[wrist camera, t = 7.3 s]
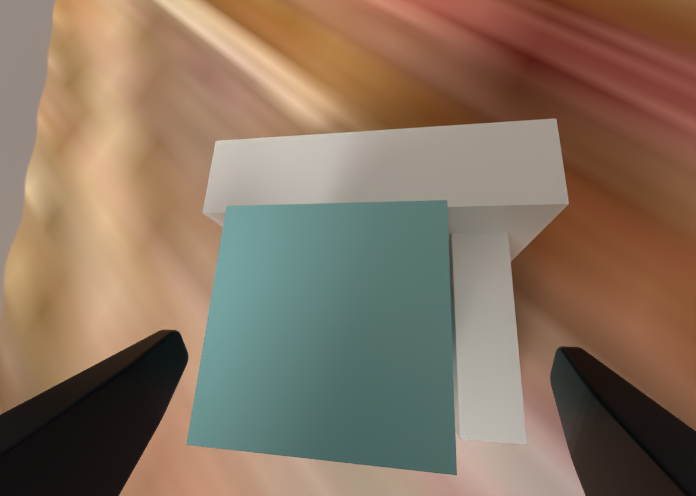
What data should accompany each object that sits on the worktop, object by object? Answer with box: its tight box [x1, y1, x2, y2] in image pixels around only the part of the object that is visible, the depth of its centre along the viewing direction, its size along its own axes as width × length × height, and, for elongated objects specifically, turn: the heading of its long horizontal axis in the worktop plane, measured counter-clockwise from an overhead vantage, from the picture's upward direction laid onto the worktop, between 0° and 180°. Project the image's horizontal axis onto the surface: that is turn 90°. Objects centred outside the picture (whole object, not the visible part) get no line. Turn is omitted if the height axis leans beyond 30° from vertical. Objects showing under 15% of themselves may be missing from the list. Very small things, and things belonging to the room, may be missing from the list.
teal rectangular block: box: [187, 200, 457, 475], centre depth 11 cm, size 6×4×12 cm
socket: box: [203, 119, 569, 445], centre depth 14 cm, size 10×12×7 cm
